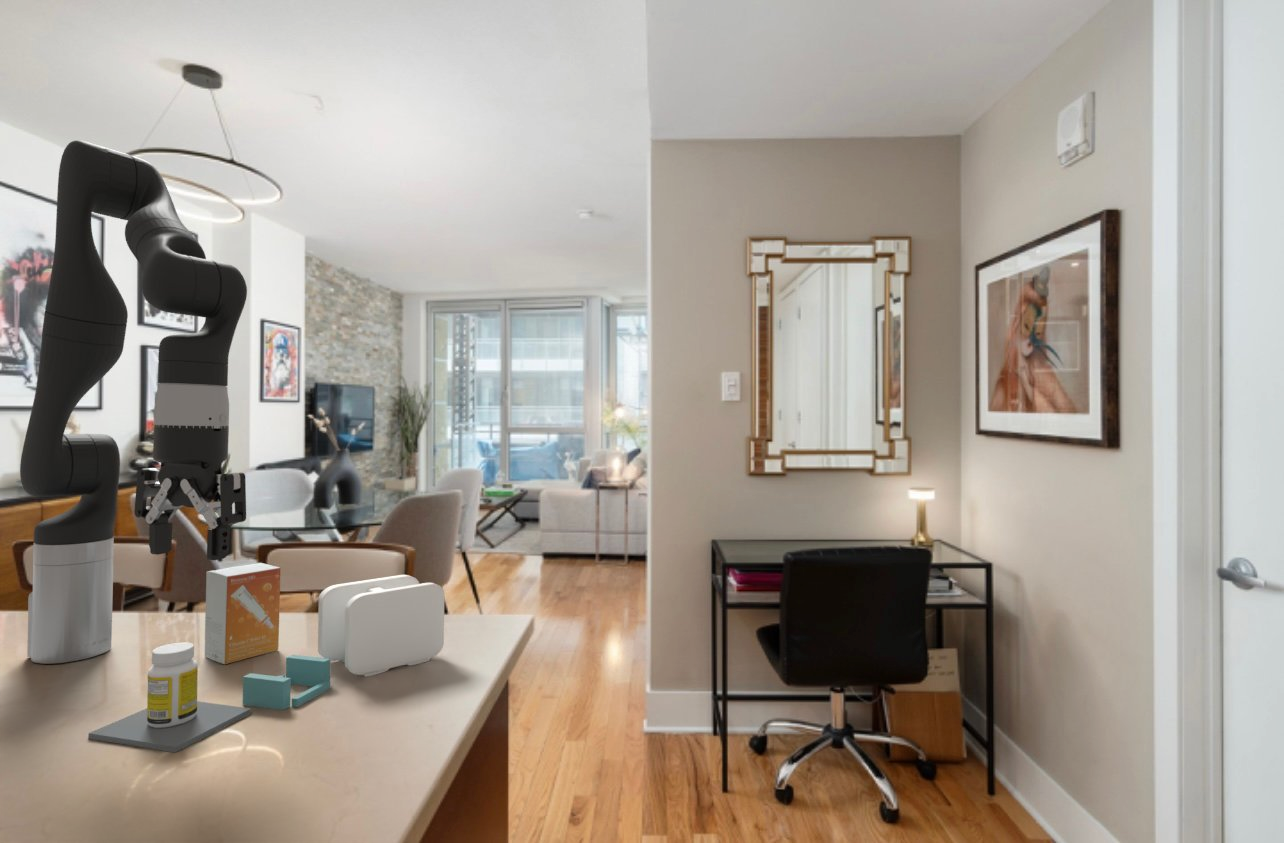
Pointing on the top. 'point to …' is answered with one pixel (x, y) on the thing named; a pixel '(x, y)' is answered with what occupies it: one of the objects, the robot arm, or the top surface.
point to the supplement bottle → (172, 685)
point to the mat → (170, 728)
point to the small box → (242, 612)
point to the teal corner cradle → (288, 683)
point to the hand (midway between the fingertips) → (188, 556)
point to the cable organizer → (381, 623)
